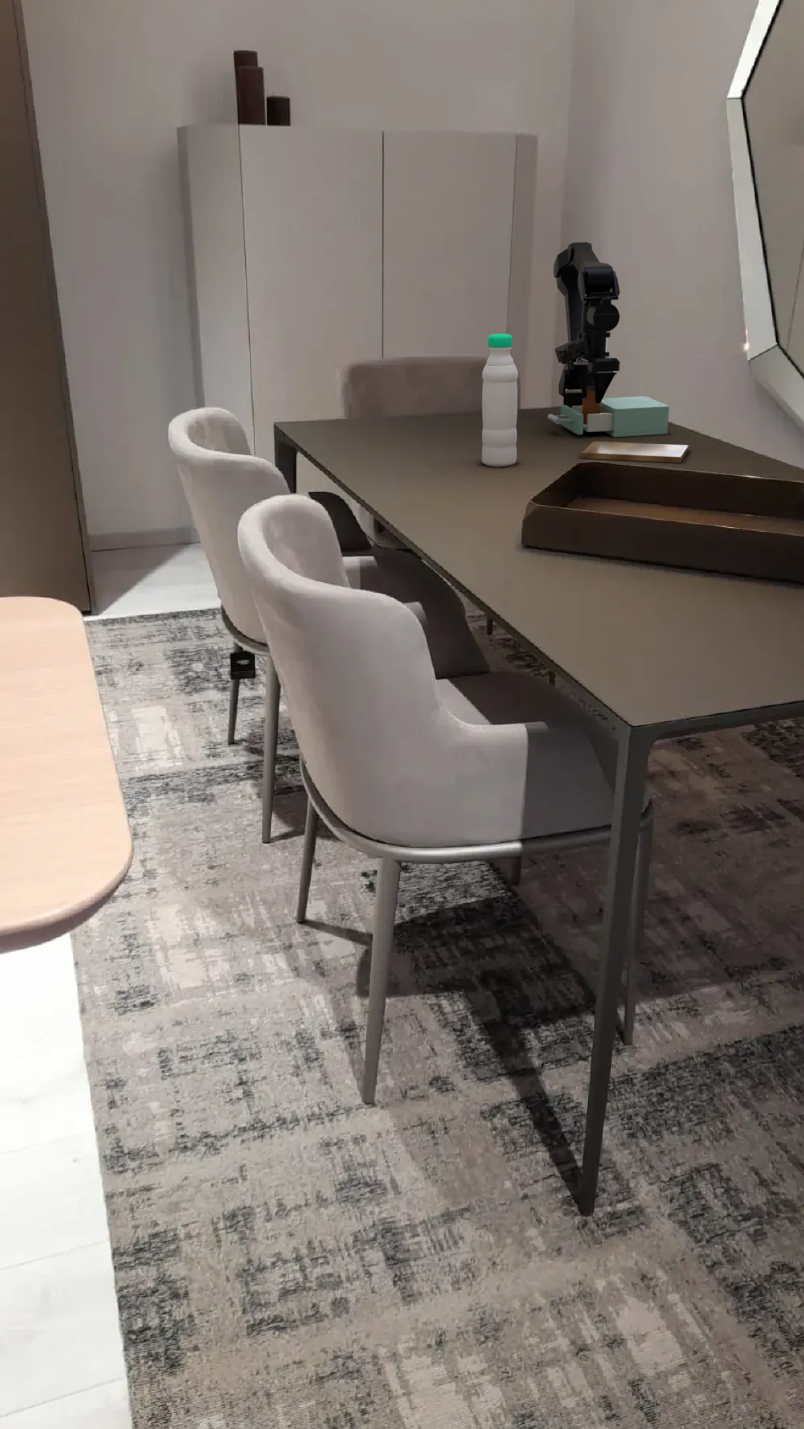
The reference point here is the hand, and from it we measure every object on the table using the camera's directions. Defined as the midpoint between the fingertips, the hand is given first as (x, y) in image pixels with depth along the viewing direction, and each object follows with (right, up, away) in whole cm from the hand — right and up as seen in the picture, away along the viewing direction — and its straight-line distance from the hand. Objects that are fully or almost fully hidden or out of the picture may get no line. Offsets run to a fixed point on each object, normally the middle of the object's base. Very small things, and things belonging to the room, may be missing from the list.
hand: (591, 399), depth 249 cm
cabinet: (+9, -6, +4) cm, 12 cm away
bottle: (0, -5, +2) cm, 5 cm away
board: (+6, -17, -21) cm, 27 cm away
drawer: (-1, -6, +2) cm, 6 cm away
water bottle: (-23, -20, -25) cm, 40 cm away
